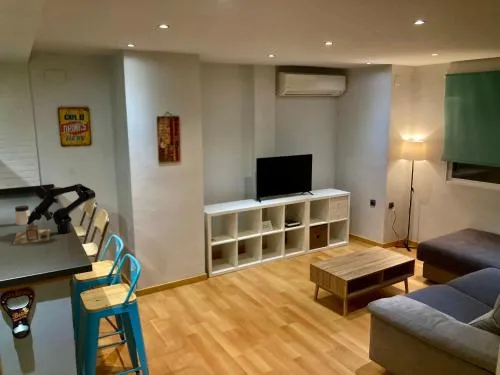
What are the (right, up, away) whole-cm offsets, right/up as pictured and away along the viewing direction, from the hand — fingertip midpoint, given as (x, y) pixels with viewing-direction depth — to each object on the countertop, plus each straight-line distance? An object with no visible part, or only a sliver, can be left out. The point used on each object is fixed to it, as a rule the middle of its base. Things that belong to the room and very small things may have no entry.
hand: (28, 223), depth 259 cm
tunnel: (+9, -8, -12) cm, 17 cm away
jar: (-18, -3, +29) cm, 34 cm away
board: (+5, -8, -6) cm, 11 cm away
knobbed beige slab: (+5, -7, -5) cm, 10 cm away
